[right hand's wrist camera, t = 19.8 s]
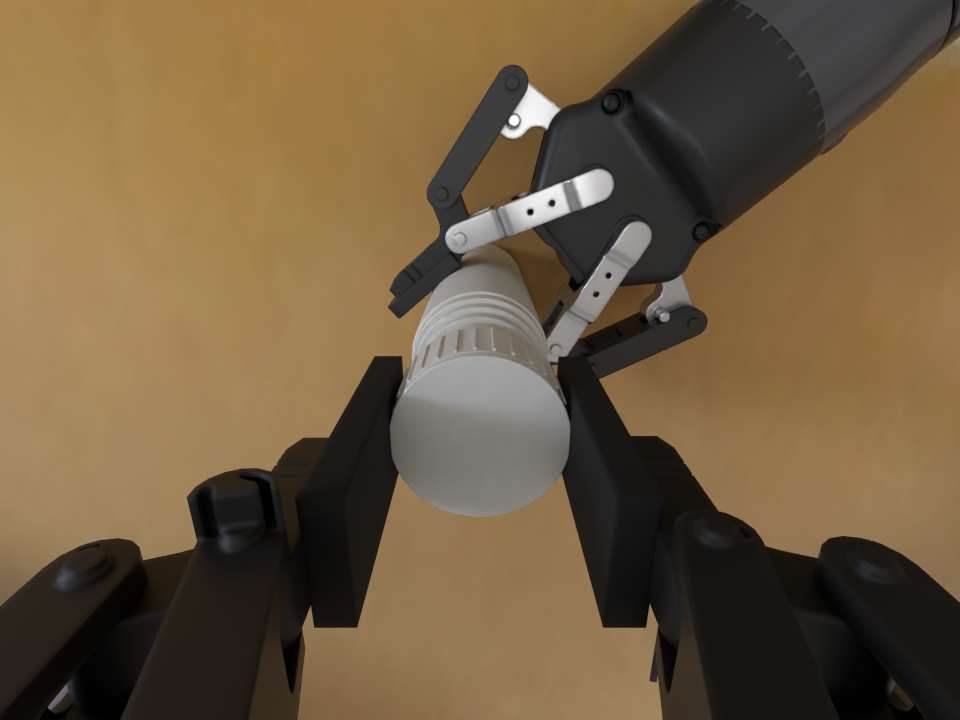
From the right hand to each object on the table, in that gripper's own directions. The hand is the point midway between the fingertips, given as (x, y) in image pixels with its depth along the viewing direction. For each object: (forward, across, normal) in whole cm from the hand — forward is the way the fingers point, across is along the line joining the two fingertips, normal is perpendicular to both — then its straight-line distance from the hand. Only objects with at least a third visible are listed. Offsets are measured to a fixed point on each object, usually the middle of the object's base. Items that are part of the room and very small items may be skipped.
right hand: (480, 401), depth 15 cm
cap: (-2, 0, 0) cm, 2 cm away
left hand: (+9, -2, -2) cm, 10 cm away
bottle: (+16, 0, 0) cm, 16 cm away
